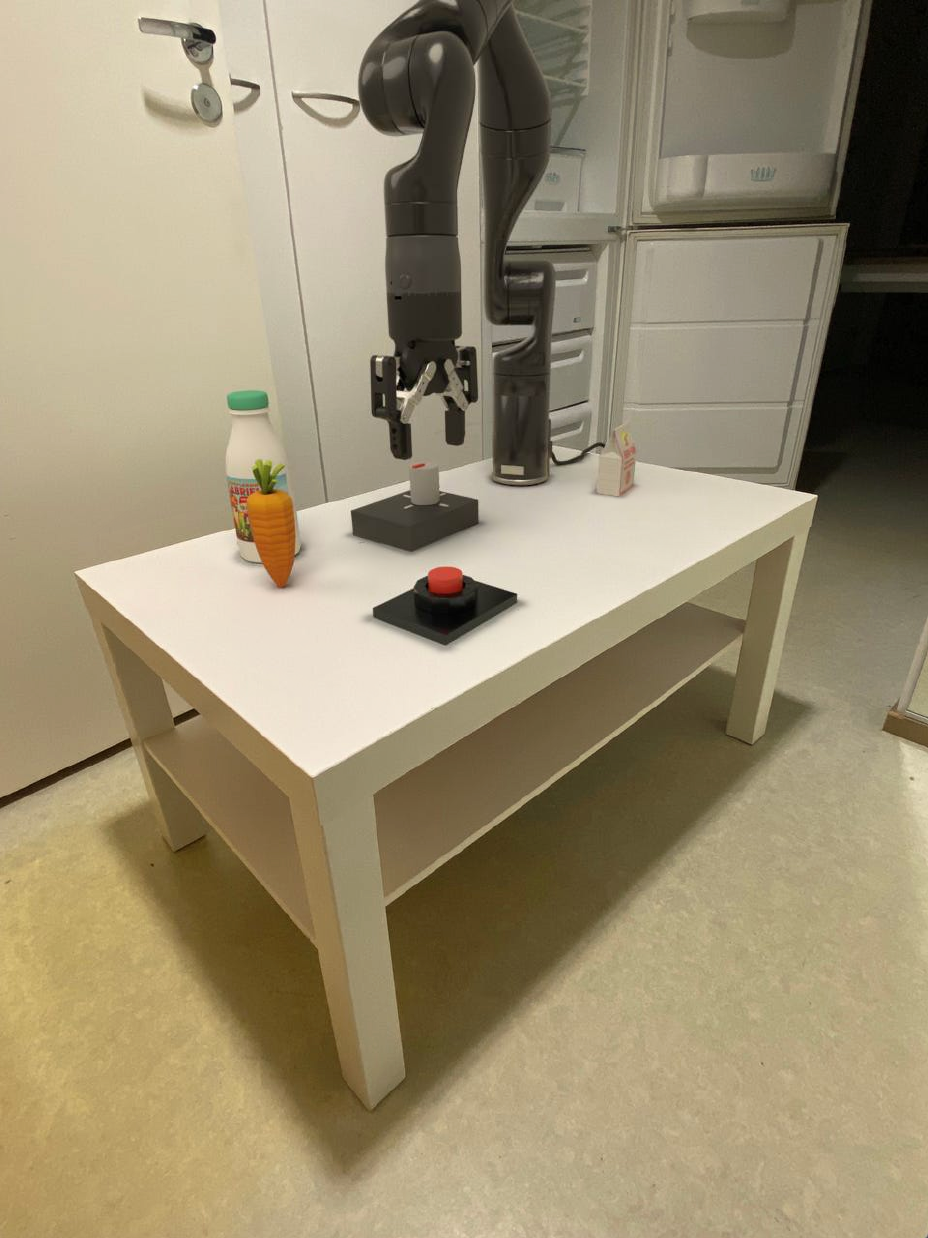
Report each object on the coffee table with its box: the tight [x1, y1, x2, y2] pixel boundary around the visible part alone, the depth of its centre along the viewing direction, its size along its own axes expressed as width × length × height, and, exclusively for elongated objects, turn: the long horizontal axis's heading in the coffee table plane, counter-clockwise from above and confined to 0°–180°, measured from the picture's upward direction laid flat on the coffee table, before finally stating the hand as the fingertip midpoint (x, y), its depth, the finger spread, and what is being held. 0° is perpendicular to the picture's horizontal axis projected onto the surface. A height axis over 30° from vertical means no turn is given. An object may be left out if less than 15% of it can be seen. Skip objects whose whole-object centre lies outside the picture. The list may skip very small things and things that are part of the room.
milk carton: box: [596, 422, 638, 497], centre depth 111 cm, size 4×7×10 cm, turn 149°
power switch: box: [372, 574, 518, 646], centre depth 74 cm, size 12×10×3 cm
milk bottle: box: [225, 389, 301, 564], centre depth 86 cm, size 8×8×20 cm
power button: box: [427, 566, 464, 594], centre depth 73 cm, size 4×4×2 cm
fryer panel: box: [350, 489, 480, 553], centre depth 97 cm, size 14×11×4 cm
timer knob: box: [408, 461, 440, 505], centre depth 96 cm, size 4×4×5 cm
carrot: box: [246, 459, 296, 589], centre depth 77 cm, size 5×5×15 cm
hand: (429, 451), depth 77 cm, fingers open, 8 cm apart
